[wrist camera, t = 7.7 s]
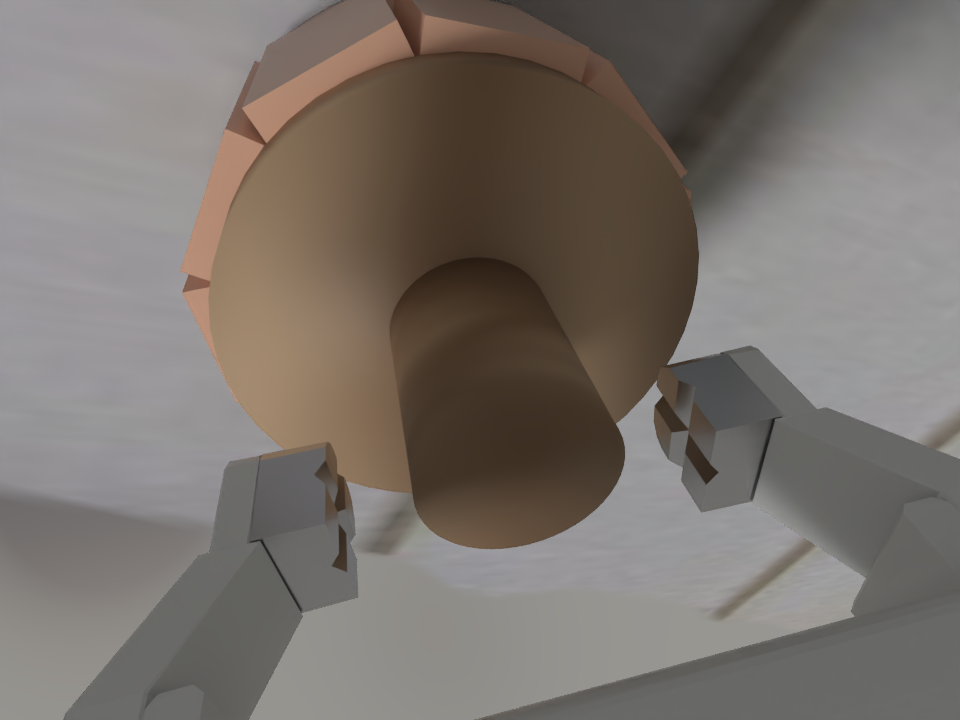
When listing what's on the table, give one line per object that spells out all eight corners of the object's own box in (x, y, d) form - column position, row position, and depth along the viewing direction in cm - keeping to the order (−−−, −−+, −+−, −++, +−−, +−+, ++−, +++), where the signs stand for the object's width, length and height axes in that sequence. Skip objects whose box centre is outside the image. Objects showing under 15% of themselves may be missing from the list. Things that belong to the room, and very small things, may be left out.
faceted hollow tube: (592, -54, 15) (717, -33, 10) (591, 311, 21) (665, 425, 17) (158, 14, 14) (74, 72, 9) (298, 373, 20) (291, 513, 16)
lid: (694, 7, 10) (931, 76, 6) (656, 411, 16) (765, 579, 12) (123, 105, 10) (-29, 257, 5) (302, 493, 15) (294, 703, 11)
